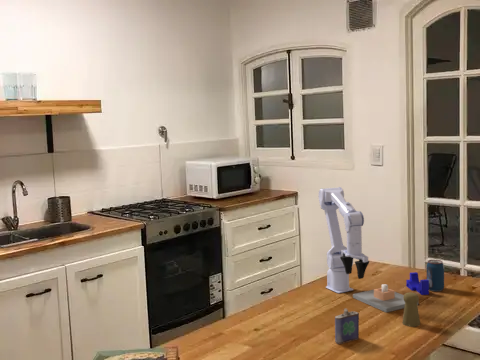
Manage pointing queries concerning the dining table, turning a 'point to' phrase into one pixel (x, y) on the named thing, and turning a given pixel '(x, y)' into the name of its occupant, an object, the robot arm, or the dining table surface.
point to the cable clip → (418, 284)
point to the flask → (346, 327)
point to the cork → (411, 310)
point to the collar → (384, 294)
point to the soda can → (435, 275)
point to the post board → (380, 304)
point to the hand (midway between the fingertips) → (354, 276)
